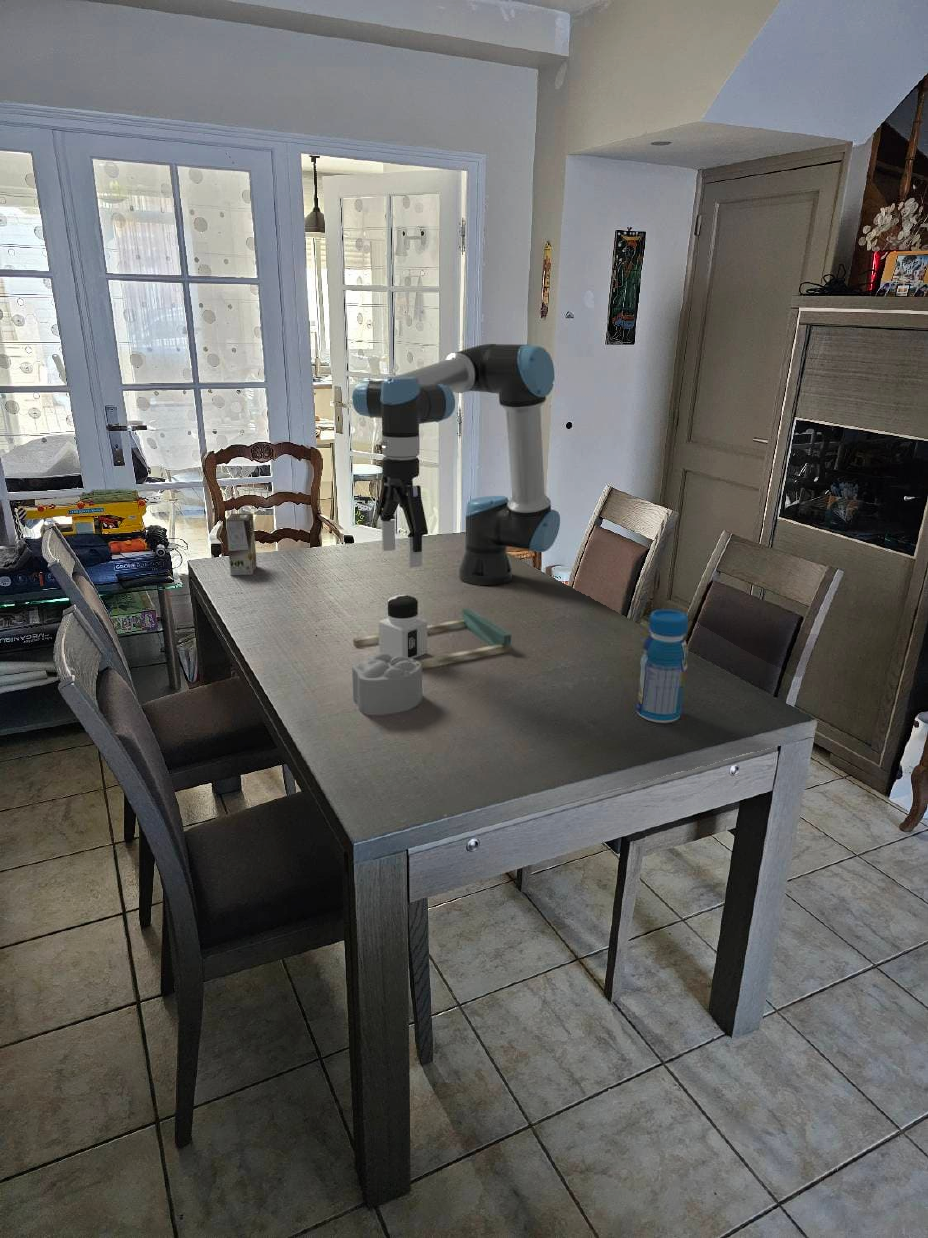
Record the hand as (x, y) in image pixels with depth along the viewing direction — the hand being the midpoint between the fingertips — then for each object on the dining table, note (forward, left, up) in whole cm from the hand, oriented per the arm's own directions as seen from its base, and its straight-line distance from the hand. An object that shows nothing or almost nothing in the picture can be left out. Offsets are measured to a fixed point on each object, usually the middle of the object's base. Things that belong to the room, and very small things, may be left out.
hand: (401, 558), depth 168 cm
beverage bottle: (-31, +48, -22) cm, 61 cm away
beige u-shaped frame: (-7, 0, -22) cm, 23 cm away
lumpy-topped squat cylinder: (+12, +20, -22) cm, 32 cm away
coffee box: (+16, -76, -22) cm, 81 cm away
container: (0, 0, -22) cm, 22 cm away
